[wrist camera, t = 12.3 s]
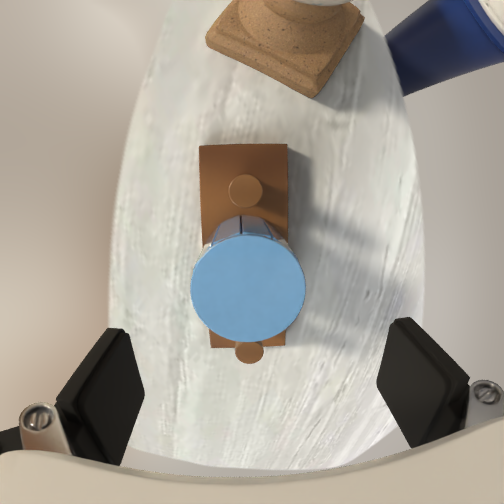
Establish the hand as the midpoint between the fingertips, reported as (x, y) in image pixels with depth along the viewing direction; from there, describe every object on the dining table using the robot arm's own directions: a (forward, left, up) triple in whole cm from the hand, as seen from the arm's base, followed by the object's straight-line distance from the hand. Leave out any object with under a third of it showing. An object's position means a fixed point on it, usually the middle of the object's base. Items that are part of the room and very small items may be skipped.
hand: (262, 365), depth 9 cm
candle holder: (-11, -18, -17) cm, 27 cm away
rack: (0, 0, -17) cm, 17 cm away
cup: (0, 0, -15) cm, 15 cm away
